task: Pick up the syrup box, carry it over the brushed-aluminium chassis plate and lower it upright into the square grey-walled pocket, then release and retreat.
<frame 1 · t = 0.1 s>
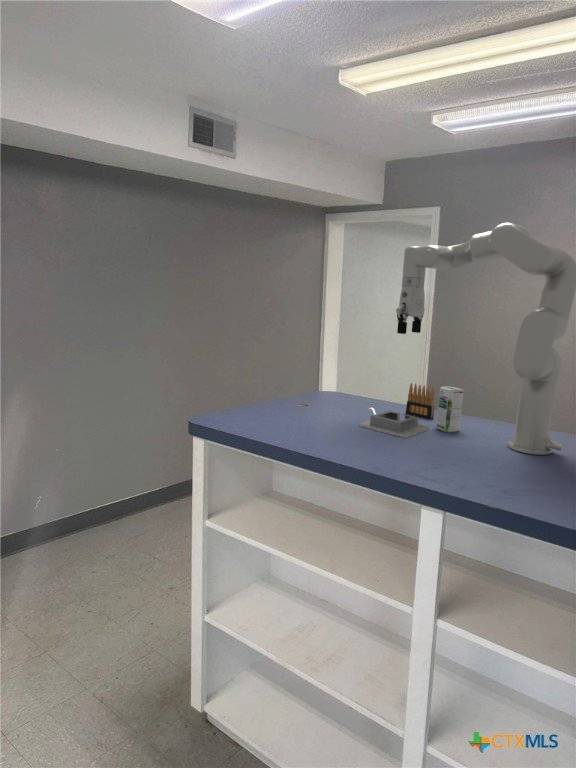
hand: (408, 332, 186), 31 cm above the table, tool pointing down, fingers open, 9 cm apart
ammunition clip: (419, 417, 197), on the table
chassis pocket: (393, 428, 179), on the table
syrup box: (447, 430, 180), on the table
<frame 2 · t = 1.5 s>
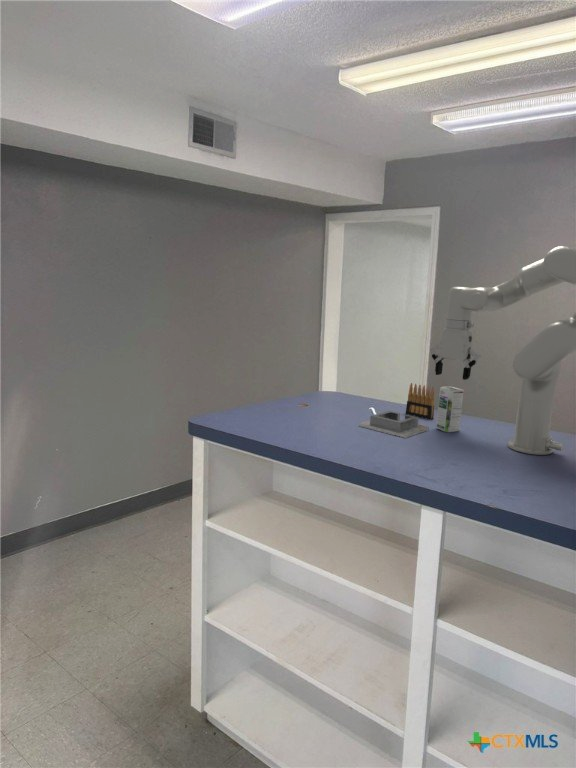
hand: (451, 376, 177), 18 cm above the table, tool pointing down, fingers open, 9 cm apart
nothing on the table moved.
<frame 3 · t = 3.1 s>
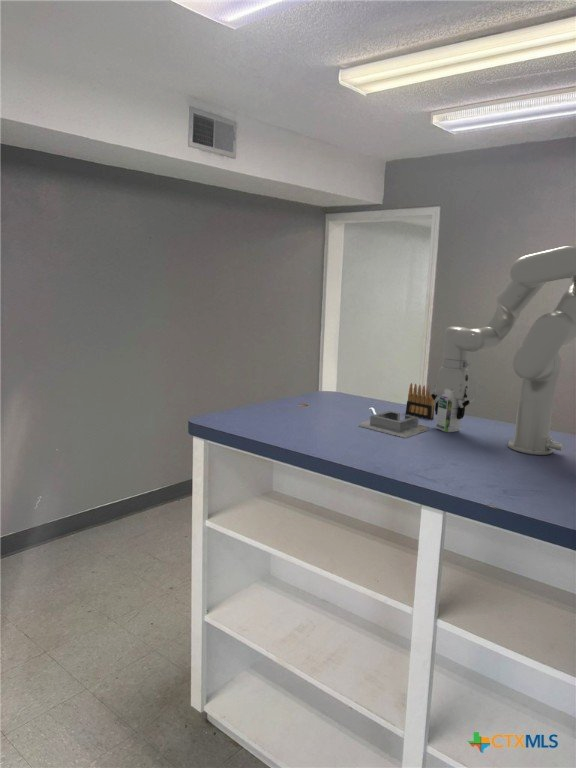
hand: (449, 415, 179), 5 cm above the table, tool pointing down, fingers closed on syrup box, 7 cm apart
syrup box: (447, 430, 180), on the table, touching gripper
everything else where it was.
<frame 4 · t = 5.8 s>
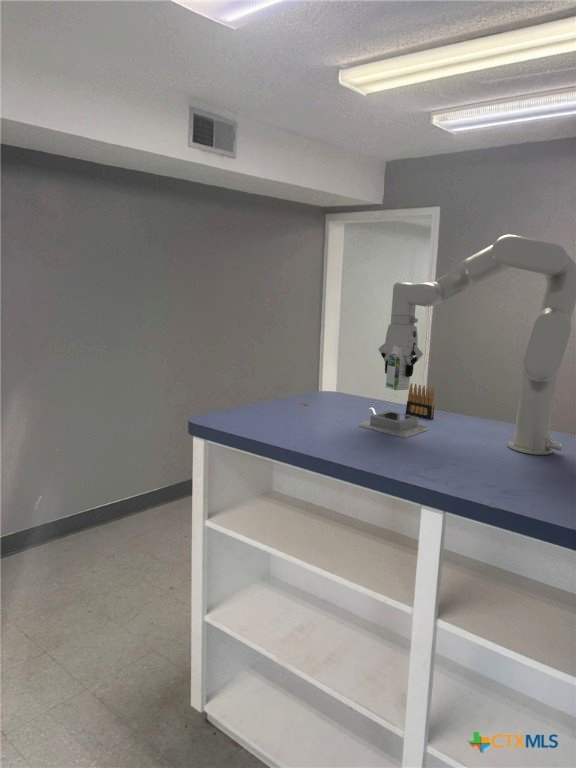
hand: (398, 374, 176), 18 cm above the table, tool pointing down, fingers closed on syrup box, 7 cm apart
syrup box: (397, 389, 177), point 13 cm above the table, touching gripper
everything else where it was.
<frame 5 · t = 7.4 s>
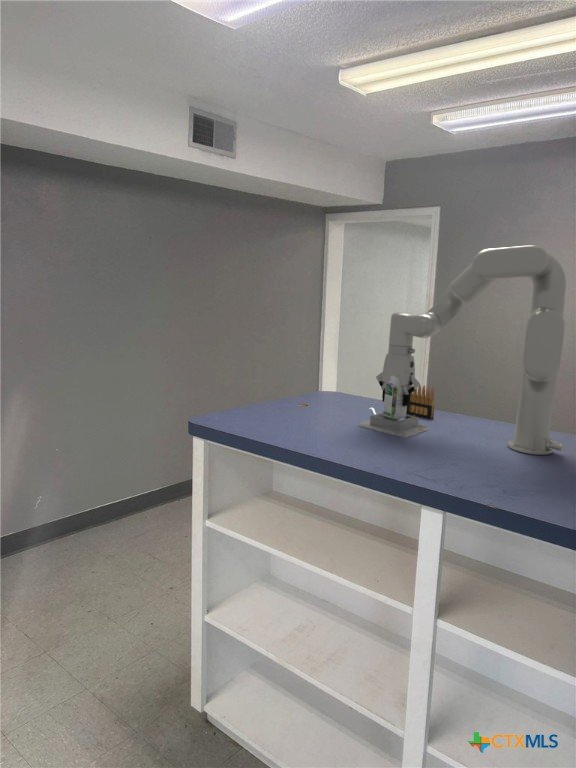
hand: (395, 403, 178), 9 cm above the table, tool pointing down, fingers closed on syrup box, 7 cm apart
syrup box: (394, 417, 179), point 4 cm above the table, touching gripper
everything else where it was.
when the fingers open (7 cm above the table, at t = 8.8 s): syrup box stays where it is, resting on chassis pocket.
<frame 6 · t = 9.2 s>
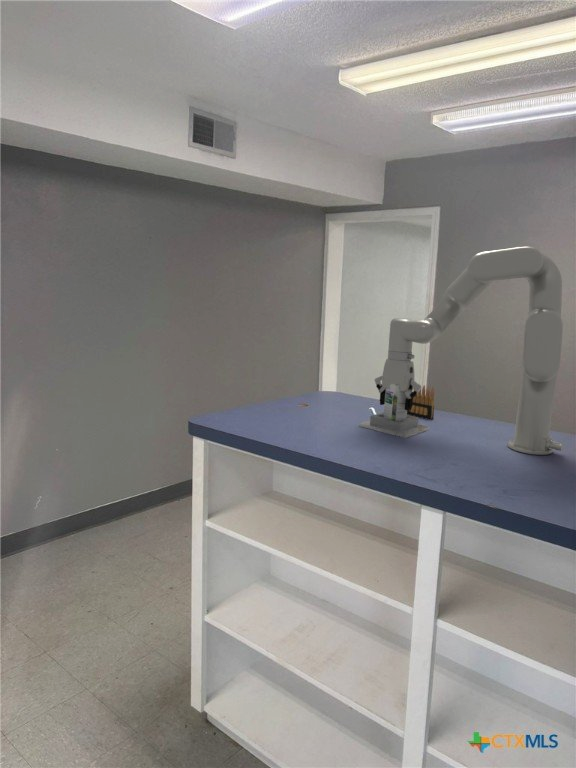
hand: (395, 406, 178), 7 cm above the table, tool pointing down, fingers open, 9 cm apart
syrup box: (394, 425, 179), point 1 cm above the table, touching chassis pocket
everything else where it was.
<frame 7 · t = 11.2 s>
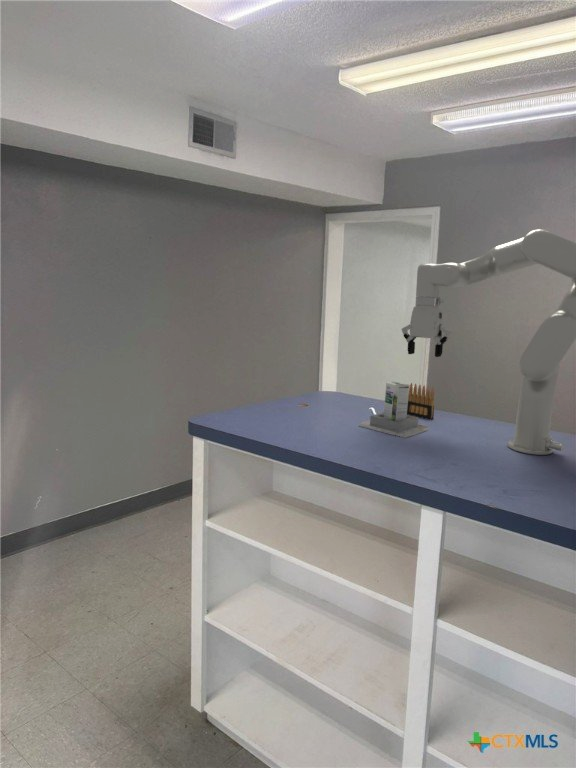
hand: (424, 355, 175), 25 cm above the table, tool pointing down, fingers open, 9 cm apart
nothing on the table moved.
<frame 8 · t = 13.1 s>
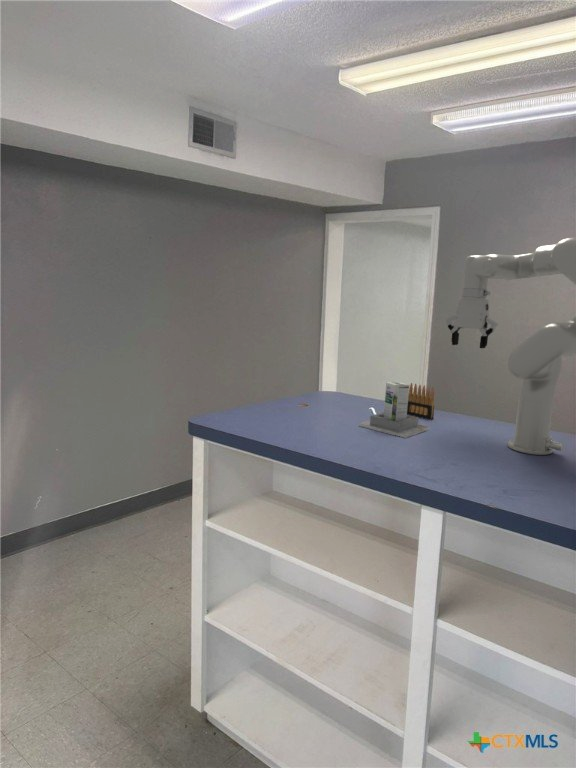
hand: (468, 346, 177), 28 cm above the table, tool pointing down, fingers open, 9 cm apart
nothing on the table moved.
at the end: syrup box 0.1 cm off-centre on the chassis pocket, point 0.8 cm above the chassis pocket's base; syrup box tilted 0°; the gripper is holding nothing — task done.
